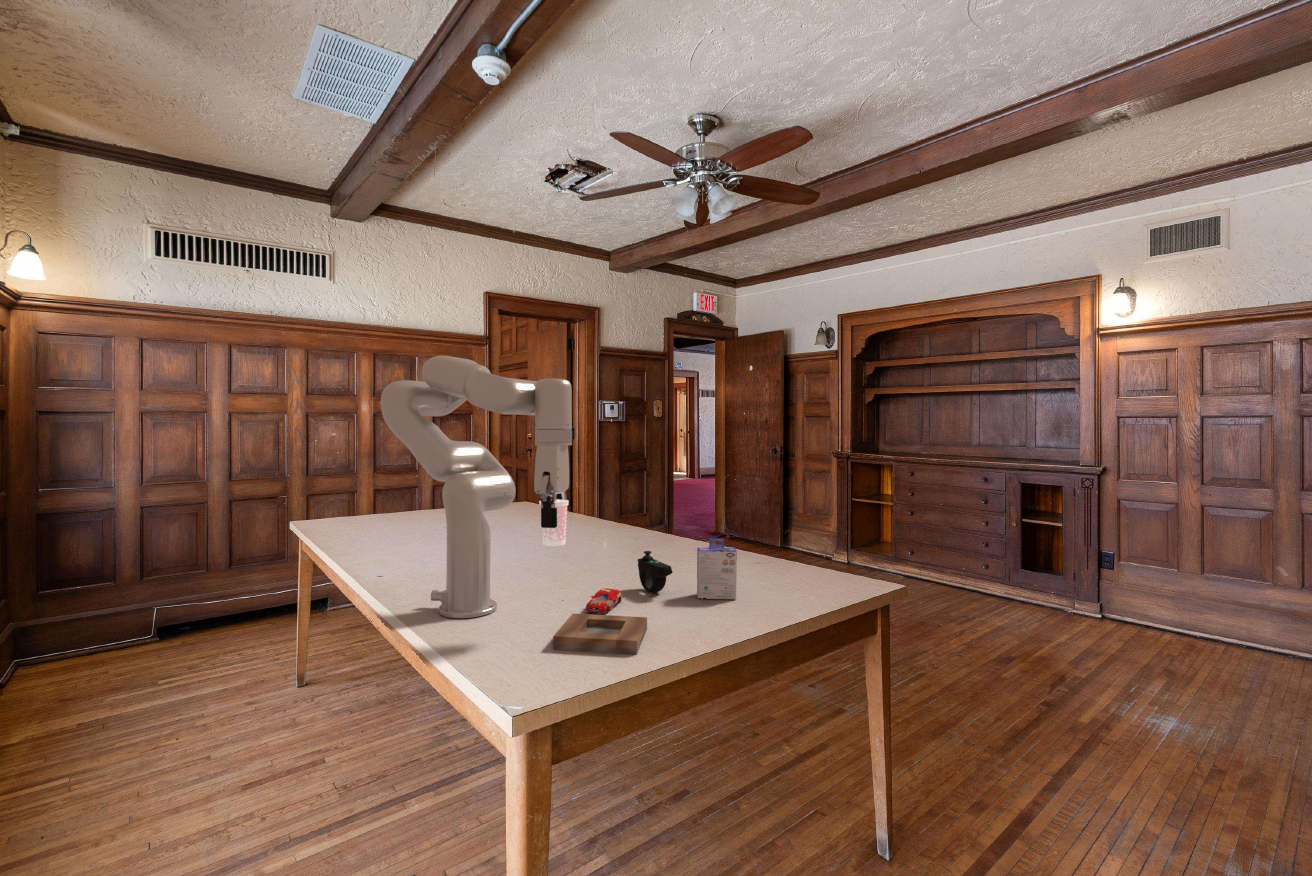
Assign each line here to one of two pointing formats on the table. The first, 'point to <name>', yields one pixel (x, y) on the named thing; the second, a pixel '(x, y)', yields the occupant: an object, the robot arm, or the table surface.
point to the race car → (603, 601)
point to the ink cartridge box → (716, 571)
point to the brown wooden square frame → (601, 633)
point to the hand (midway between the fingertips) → (554, 524)
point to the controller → (652, 573)
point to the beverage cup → (559, 533)
